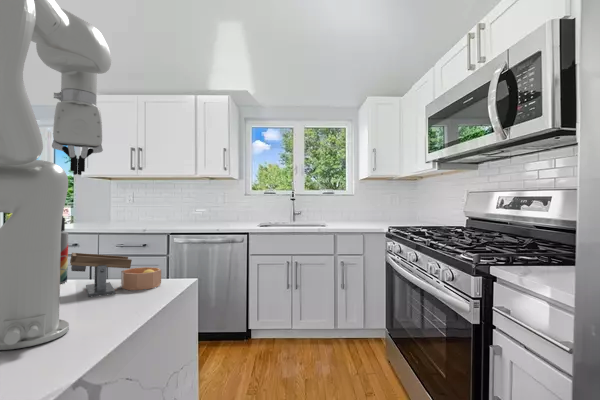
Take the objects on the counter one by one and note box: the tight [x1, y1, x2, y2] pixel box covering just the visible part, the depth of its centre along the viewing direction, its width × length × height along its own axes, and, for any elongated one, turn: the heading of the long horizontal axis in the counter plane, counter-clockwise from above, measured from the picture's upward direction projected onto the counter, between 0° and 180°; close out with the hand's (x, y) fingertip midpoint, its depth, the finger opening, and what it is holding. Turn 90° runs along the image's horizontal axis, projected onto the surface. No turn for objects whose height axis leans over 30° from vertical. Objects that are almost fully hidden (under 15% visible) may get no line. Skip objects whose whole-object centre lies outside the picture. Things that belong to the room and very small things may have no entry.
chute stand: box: [85, 265, 116, 298], centre depth 96 cm, size 12×6×8 cm, turn 35°
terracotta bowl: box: [120, 266, 162, 291], centre depth 102 cm, size 10×10×4 cm
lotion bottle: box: [60, 215, 69, 285], centre depth 104 cm, size 6×6×20 cm
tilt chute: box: [69, 252, 132, 273], centre depth 99 cm, size 15×14×4 cm
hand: (77, 174), depth 87 cm, fingers closed
